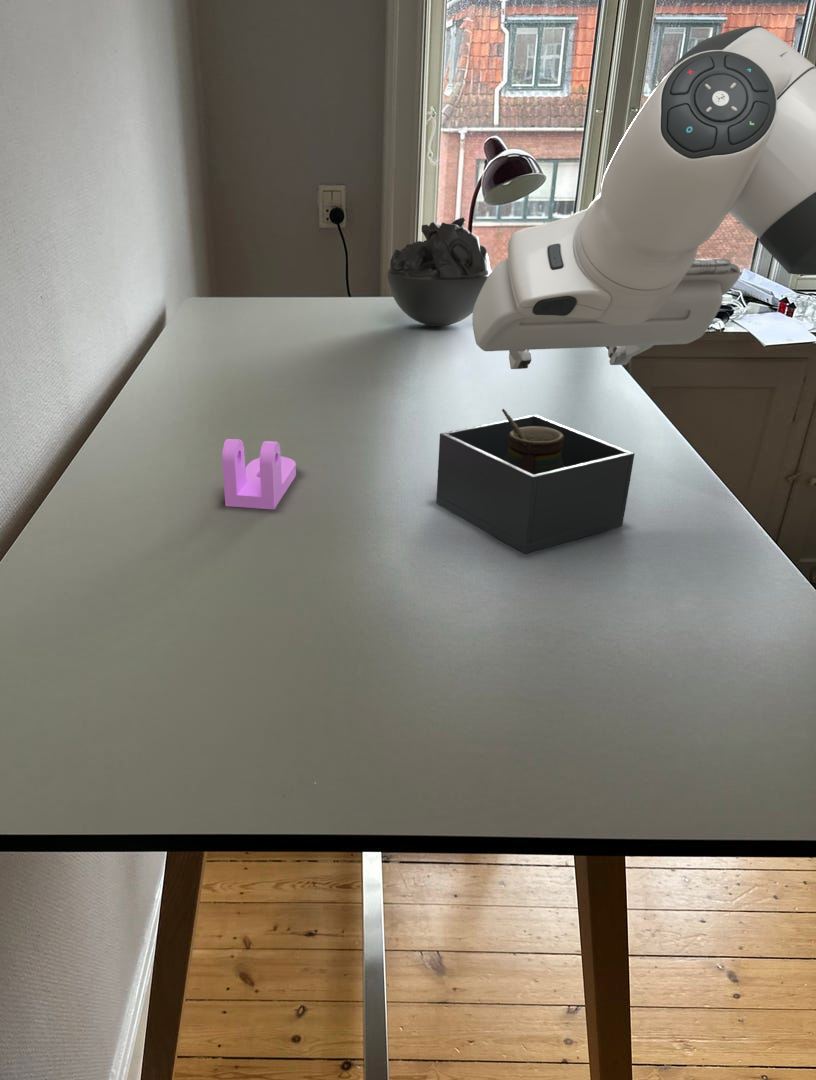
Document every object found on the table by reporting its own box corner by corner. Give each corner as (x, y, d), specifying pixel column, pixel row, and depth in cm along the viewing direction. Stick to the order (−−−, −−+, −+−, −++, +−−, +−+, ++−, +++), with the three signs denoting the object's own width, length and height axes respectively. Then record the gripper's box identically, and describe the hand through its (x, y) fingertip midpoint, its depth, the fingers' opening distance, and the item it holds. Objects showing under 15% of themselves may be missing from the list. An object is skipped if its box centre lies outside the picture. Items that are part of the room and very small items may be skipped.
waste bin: (528, 481, 108) (535, 414, 104) (622, 526, 96) (634, 453, 92) (435, 503, 102) (439, 433, 98) (524, 554, 91) (532, 477, 87)
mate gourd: (557, 523, 95) (569, 429, 89) (485, 513, 97) (492, 420, 92) (567, 498, 100) (579, 408, 95) (499, 489, 103) (507, 401, 98)
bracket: (274, 509, 101) (271, 448, 97) (225, 506, 102) (221, 445, 98) (300, 468, 112) (299, 412, 108) (256, 465, 113) (253, 409, 109)
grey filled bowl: (421, 341, 168) (425, 229, 159) (367, 320, 184) (369, 218, 174) (509, 329, 176) (519, 222, 167) (451, 310, 191) (457, 212, 182)
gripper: (742, 226, 73) (669, 326, 86) (491, 232, 71) (456, 333, 84) (758, 295, 72) (680, 386, 85) (502, 303, 70) (464, 395, 83)
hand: (567, 360), depth 85 cm, fingers open, 8 cm apart
